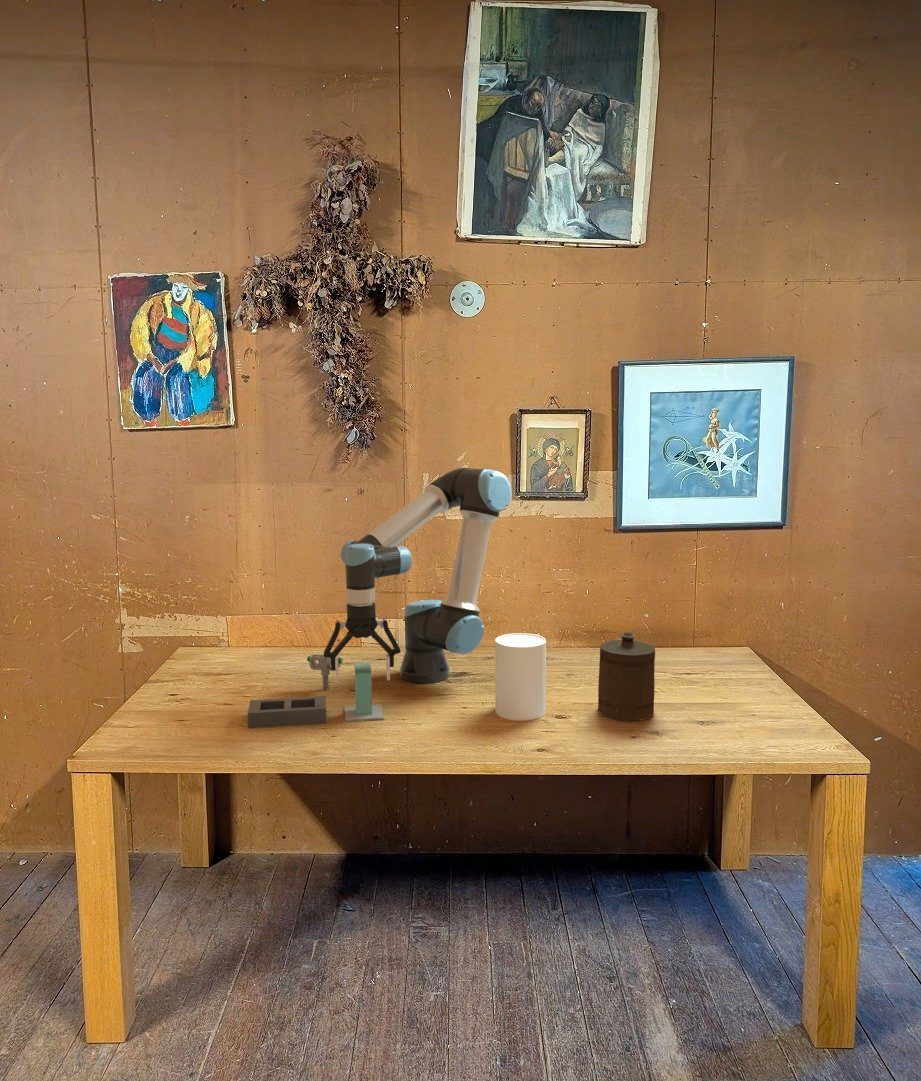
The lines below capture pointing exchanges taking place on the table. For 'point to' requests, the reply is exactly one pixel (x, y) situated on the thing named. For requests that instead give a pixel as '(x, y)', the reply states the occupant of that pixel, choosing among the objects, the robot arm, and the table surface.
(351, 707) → the mat
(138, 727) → the table surface
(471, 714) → the table surface
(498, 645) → the canister
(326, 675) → the mechanical component
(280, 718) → the cinder block
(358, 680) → the plug
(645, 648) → the wooden container
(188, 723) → the table surface
